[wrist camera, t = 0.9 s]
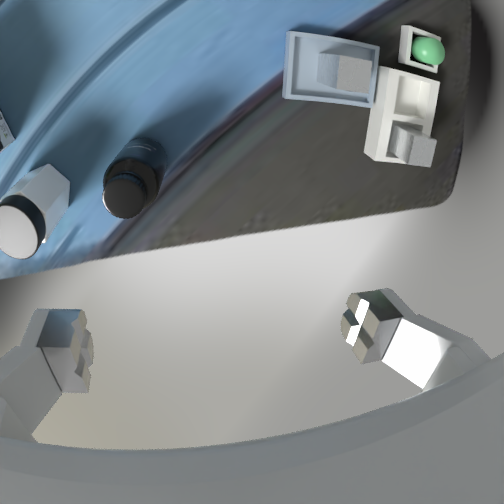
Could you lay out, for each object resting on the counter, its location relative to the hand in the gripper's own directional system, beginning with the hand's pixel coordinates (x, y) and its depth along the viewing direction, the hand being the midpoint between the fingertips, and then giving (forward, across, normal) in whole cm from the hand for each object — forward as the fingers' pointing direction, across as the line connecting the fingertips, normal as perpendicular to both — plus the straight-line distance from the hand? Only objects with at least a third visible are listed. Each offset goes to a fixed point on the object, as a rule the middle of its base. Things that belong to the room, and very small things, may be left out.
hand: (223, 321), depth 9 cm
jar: (+39, +21, +7) cm, 44 cm away
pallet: (+32, -30, -7) cm, 44 cm away
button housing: (+30, -31, -18) cm, 47 cm away
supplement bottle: (+37, +5, +3) cm, 37 cm away
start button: (+29, -31, -18) cm, 46 cm away
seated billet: (+31, -30, -4) cm, 43 cm away
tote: (+32, -18, -12) cm, 39 cm away
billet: (+31, -18, -11) cm, 38 cm away
